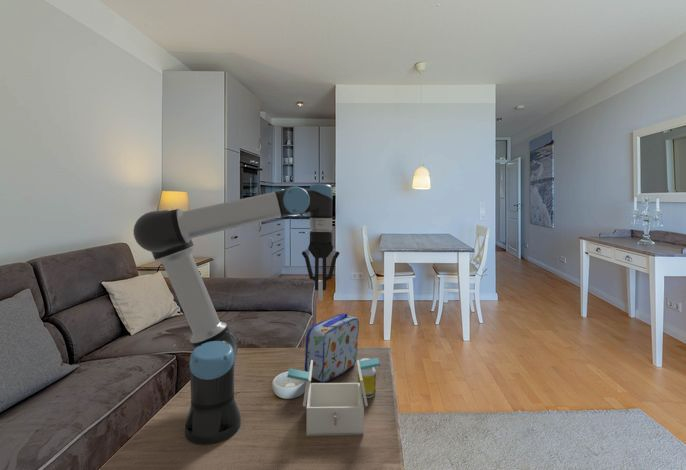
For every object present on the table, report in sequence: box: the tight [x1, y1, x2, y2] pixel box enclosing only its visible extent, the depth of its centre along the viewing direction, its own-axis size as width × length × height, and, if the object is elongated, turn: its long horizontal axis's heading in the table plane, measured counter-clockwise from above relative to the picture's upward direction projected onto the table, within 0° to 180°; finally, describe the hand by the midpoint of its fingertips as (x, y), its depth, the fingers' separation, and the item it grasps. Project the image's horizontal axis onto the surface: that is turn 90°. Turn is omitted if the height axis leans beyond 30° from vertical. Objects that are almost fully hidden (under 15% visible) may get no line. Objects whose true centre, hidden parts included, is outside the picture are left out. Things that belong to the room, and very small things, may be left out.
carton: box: [306, 382, 365, 437], centre depth 104 cm, size 16×16×8 cm
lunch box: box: [304, 313, 360, 383], centre depth 136 cm, size 28×10×22 cm, turn 148°
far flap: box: [356, 357, 381, 407], centre depth 105 cm, size 8×13×7 cm
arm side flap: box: [286, 360, 313, 407], centre depth 104 cm, size 8×13×7 cm
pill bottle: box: [356, 357, 377, 399], centre depth 120 cm, size 6×6×12 cm
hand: (320, 299), depth 120 cm, fingers closed
